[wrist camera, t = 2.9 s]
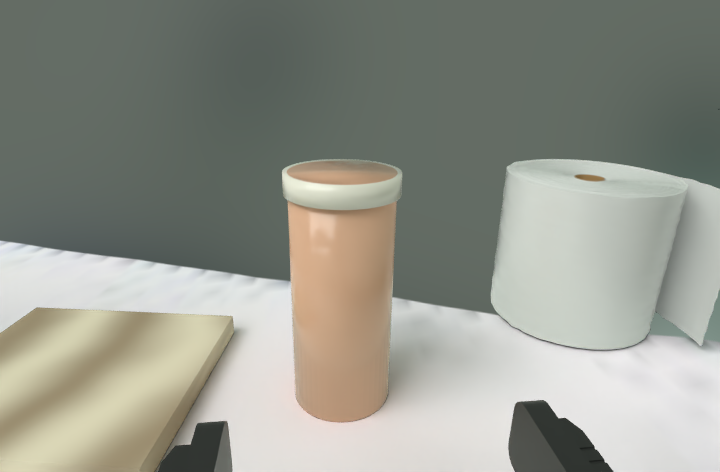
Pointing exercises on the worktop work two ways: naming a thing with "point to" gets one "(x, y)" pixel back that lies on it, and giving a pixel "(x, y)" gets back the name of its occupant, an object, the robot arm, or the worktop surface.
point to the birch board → (101, 386)
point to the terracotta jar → (341, 283)
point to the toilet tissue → (605, 252)
